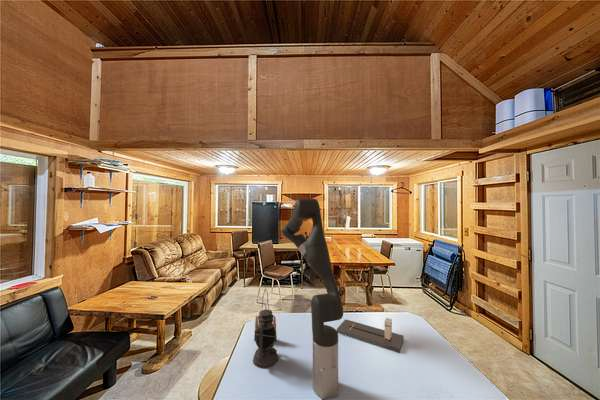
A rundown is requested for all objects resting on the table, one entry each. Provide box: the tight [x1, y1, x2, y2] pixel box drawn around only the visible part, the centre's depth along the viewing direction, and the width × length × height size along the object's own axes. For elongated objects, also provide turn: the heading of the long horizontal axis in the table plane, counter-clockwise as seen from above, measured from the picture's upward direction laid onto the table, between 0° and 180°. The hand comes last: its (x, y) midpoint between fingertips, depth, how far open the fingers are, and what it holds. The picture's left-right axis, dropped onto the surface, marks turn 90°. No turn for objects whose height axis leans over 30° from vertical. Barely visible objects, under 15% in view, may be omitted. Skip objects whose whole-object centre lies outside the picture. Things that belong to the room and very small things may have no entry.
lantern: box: [252, 288, 279, 369], centre depth 99 cm, size 12×11×30 cm
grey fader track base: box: [336, 318, 405, 354], centre depth 116 cm, size 30×12×2 cm, turn 58°
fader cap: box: [384, 317, 393, 340], centre depth 111 cm, size 2×4×8 cm, turn 148°
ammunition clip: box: [254, 315, 278, 343], centre depth 112 cm, size 11×2×12 cm, turn 87°
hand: (327, 275), depth 121 cm, fingers open, 8 cm apart
